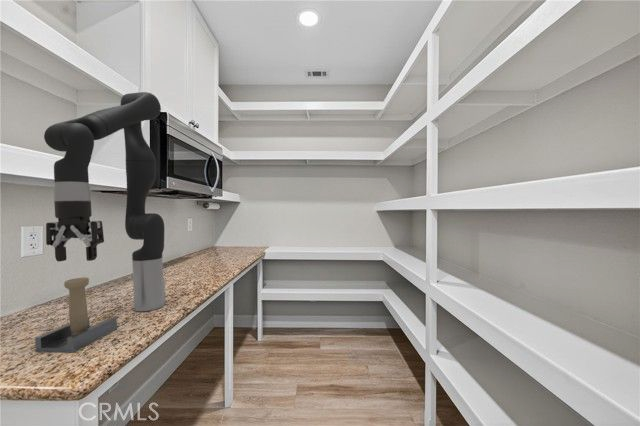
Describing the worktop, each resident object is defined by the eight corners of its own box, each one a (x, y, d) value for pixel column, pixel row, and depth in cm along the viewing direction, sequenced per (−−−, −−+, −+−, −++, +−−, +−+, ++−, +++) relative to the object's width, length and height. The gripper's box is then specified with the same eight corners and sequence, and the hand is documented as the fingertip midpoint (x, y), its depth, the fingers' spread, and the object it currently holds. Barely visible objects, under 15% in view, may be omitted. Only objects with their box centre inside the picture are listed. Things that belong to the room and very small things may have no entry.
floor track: (84, 329, 87) (84, 317, 87) (116, 329, 87) (116, 317, 87) (35, 352, 74) (35, 337, 73) (73, 352, 73) (72, 338, 73)
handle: (93, 329, 84) (90, 276, 84) (88, 338, 78) (85, 281, 78) (71, 333, 82) (68, 279, 82) (64, 342, 76) (61, 284, 76)
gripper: (109, 199, 82) (112, 257, 83) (61, 200, 84) (64, 258, 84) (86, 198, 75) (89, 263, 75) (33, 200, 76) (37, 263, 77)
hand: (76, 260), depth 80 cm, fingers open, 8 cm apart
